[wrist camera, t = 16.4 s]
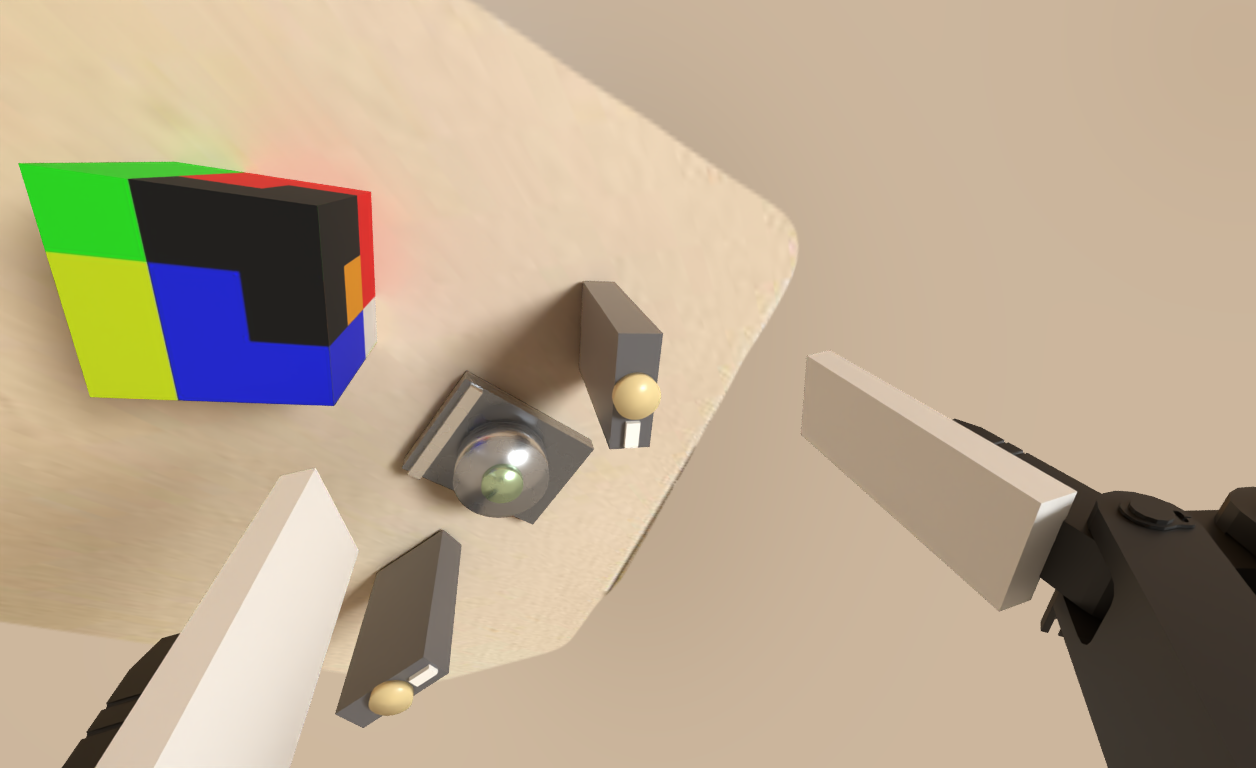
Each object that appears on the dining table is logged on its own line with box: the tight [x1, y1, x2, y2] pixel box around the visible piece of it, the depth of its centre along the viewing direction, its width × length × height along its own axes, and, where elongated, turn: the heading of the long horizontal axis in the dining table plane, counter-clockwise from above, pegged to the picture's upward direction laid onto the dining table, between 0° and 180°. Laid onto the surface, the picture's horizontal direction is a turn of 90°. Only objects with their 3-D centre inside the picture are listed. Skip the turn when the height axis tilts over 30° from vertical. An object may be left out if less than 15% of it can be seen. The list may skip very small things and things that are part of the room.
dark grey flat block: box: [335, 530, 461, 728], centre depth 36 cm, size 7×3×13 cm, turn 121°
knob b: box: [579, 281, 663, 449], centre depth 31 cm, size 7×3×13 cm, turn 175°
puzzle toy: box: [18, 162, 377, 406], centre depth 26 cm, size 10×10×10 cm
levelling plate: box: [402, 371, 594, 524], centre depth 37 cm, size 12×9×5 cm
